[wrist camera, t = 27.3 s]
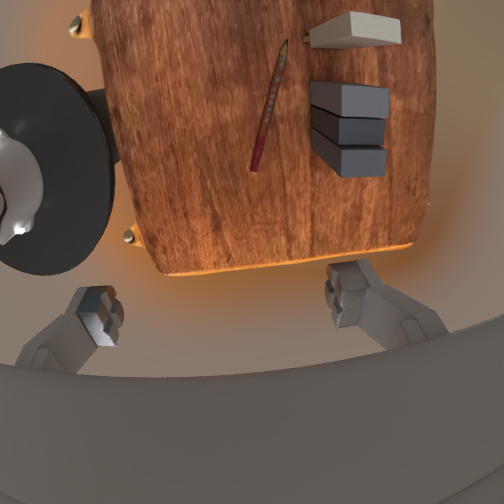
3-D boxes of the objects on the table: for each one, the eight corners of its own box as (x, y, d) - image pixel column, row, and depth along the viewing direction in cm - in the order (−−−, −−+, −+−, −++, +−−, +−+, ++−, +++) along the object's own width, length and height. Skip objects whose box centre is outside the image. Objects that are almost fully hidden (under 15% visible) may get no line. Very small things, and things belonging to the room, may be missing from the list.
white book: (310, 47, 30) (351, 35, 19) (308, 30, 29) (349, 10, 17) (346, 49, 30) (401, 43, 19) (345, 32, 29) (400, 19, 17)
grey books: (311, 148, 39) (340, 177, 29) (309, 81, 33) (341, 84, 23) (346, 147, 39) (384, 176, 29) (346, 82, 33) (389, 88, 23)
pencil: (256, 171, 40) (257, 173, 39) (249, 169, 40) (249, 171, 39) (291, 40, 30) (292, 39, 29) (282, 38, 30) (284, 37, 29)
